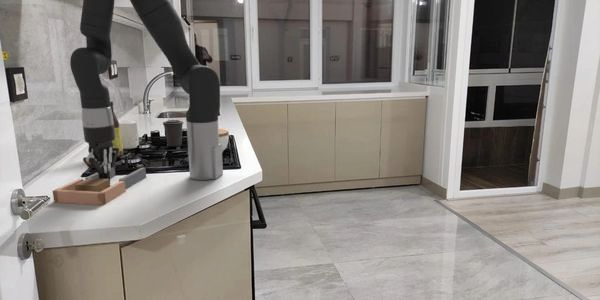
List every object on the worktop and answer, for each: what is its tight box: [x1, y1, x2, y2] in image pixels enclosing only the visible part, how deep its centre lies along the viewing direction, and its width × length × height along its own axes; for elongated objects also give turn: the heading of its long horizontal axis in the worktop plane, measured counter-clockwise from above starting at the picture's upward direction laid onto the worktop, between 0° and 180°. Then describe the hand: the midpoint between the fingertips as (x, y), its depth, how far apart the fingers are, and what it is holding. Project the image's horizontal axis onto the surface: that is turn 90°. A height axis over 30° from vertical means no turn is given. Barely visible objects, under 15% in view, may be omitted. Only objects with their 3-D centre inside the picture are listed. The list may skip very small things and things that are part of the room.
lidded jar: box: [218, 128, 230, 153], centre depth 157 cm, size 11×11×9 cm
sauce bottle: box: [110, 100, 124, 158], centre depth 149 cm, size 7×6×20 cm
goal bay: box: [52, 178, 127, 206], centre depth 110 cm, size 14×10×3 cm
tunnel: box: [84, 166, 147, 190], centre depth 122 cm, size 11×12×3 cm
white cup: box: [118, 119, 140, 150], centre depth 164 cm, size 8×8×10 cm
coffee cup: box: [162, 119, 184, 147], centre depth 168 cm, size 8×8×10 cm
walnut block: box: [75, 178, 111, 192], centre depth 111 cm, size 6×6×4 cm
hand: (105, 184), depth 116 cm, fingers closed
